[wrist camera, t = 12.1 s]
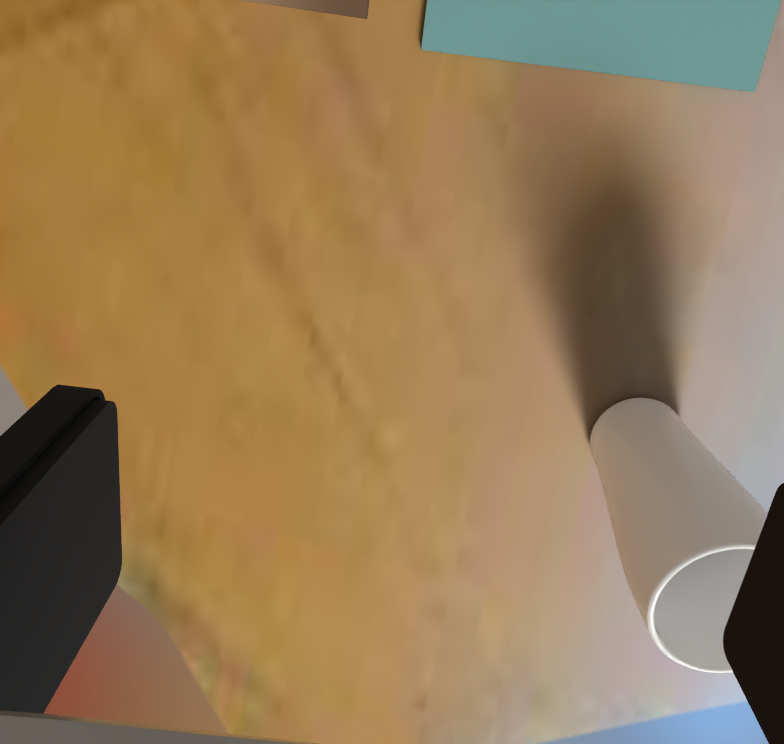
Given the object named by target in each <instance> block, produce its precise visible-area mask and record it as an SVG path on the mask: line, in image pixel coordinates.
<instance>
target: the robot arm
mask: <svg viewBox="0 0 784 744" xmlns="http://www.w3.org/2000/svg"><path fill="white" fill-rule="evenodd" d="M121 565H122V545H121V514H120V484H119V453H118V422H117V408H116V405H115V403H114V402H113V401H105V397H104V395H103V392H102V391H101V390H99V389H91V388H82V387H74V386H66V385H56V386H55V387H53V388H52V389H51V390H50V391H49V392H48V393H47V394H46V395H44V396H43V397H42V398H41V399H40V400H39V401H38V402H37V403H36V404H35V405H34V406H33V407H31V408H30V409H29V410H28V411H27V412H26V413H25V414H24V415H23V416H22V417H21V418H20V419H19V420H17V421H16V422H15V423H14V424H13V425H12V426H11V427H10V428H9V429H8V430H7V431H6V432H5V433H3V434H2V435H1V436H0V744H317V743H308V742H299V741H290V740H281V739H271V738H262V737H253V736H244V735H235V734H225V733H216V732H207V731H198V730H188V729H179V728H170V727H161V726H151V725H143V724H132V723H124V722H115V721H105V720H97V719H87V718H78V717H69V716H60V715H51V714H43V713H44V711H45V710H46V708H47V706H48V704H49V703H50V701H51V699H52V697H53V695H54V694H55V692H56V690H57V688H58V687H59V685H60V683H61V681H62V680H63V678H64V676H65V674H66V673H67V671H68V669H69V667H70V665H71V664H72V662H73V660H74V658H75V657H76V655H77V653H78V651H79V649H80V648H81V646H82V644H83V643H84V641H85V639H86V637H87V636H88V634H89V632H90V630H91V628H92V627H93V625H94V623H95V621H96V620H97V618H98V616H99V614H100V613H101V611H102V609H103V607H104V605H105V604H106V602H107V600H108V598H109V597H110V595H111V593H112V591H113V590H114V588H115V586H116V584H117V581H118V578H119V575H120V571H121ZM723 648H724V653H725V656H726V659H727V661H728V663H729V665H730V667H731V669H732V671H733V673H734V675H735V677H736V679H737V681H738V683H739V685H740V687H741V689H742V691H743V693H744V695H745V697H746V699H747V701H748V703H749V705H750V706H751V709H752V711H753V712H754V714H755V717H756V719H757V721H758V723H759V725H760V726H761V729H762V730H763V733H764V734H765V737H766V738H767V741H768V742H769V744H784V483H783V484H781V485H780V486H779V487H778V489H777V491H776V493H775V496H774V499H773V501H772V504H771V507H770V509H769V512H768V515H767V517H766V520H765V523H764V525H763V528H762V531H761V533H760V536H759V539H758V541H757V544H756V547H755V549H754V552H753V555H752V557H751V560H750V563H749V565H748V568H747V571H746V573H745V576H744V579H743V581H742V584H741V587H740V589H739V592H738V595H737V597H736V600H735V603H734V605H733V608H732V611H731V613H730V616H729V619H728V621H727V624H726V626H725V630H724V633H723Z"/></svg>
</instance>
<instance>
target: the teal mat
mask: <svg viewBox="0 0 784 744" xmlns="http://www.w3.org/2000/svg"><path fill="white" fill-rule="evenodd" d="M780 3H781V0H427V5H426V14H425V22H424V30H423V38H422V46H421V50H428V51H435V52H443V53H451V54H459V55H467V56H475V57H483V58H490V59H498V60H506V61H514V62H522V63H530V64H538V65H545V66H553V67H561V68H569V69H577V70H585V71H593V72H600V73H608V74H616V75H624V76H632V77H640V78H648V79H656V80H663V81H671V82H679V83H687V84H695V85H703V86H711V87H718V88H726V89H734V90H742V91H750V92H755V89H756V86H757V82H758V79H759V75H760V72H761V69H762V65H763V62H764V58H765V55H766V51H767V48H768V44H769V41H770V38H771V34H772V31H773V27H774V24H775V20H776V17H777V13H778V10H779V7H780Z"/></svg>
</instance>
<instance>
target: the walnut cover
mask: <svg viewBox="0 0 784 744" xmlns="http://www.w3.org/2000/svg"><path fill="white" fill-rule="evenodd" d="M241 1H248V2H255V3H262V4H268V5H275V6H282V7H289V8H296V9H302V10H309V11H316V12H323V13H330V14H337V15H343V16H350V17H357V18H364V19H367V15H368V6H369V0H241Z"/></svg>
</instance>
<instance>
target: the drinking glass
mask: <svg viewBox="0 0 784 744" xmlns="http://www.w3.org/2000/svg"><path fill="white" fill-rule="evenodd" d="M590 449H591V454H592V457H593V459H594V462H595V464H596V467H597V469H598V473H599V476H600V480H601V484H602V488H603V492H604V496H605V500H606V504H607V508H608V512H609V516H610V520H611V524H612V528H613V532H614V536H615V540H616V545H617V549H618V552H619V556H620V560H621V563H622V567H623V570H624V573H625V576H626V579H627V582H628V585H629V588H630V590H631V593H632V595H633V598H634V600H635V602H636V605H637V607H638V609H639V612H640V614H641V616H642V618H643V620H644V622H645V625H646V627H647V629H648V631H649V633H650V636H651V638H652V639H653V641H654V643H655V644H656V645H657V647H658V648H659V649H660V650H661V651H662V652H663V653H664V654H665V655H666V656H668V657H669V658H670V659H672V660H673V661H675V662H677V663H679V664H681V665H683V666H685V667H688V668H691V669H694V670H699V671H704V672H713V673H727V672H733V671H732V669H731V667H730V665H729V663H728V661H727V659H726V656H725V653H724V648H723V633H724V630H725V626H726V624H727V621H728V619H729V616H730V613H731V611H732V608H733V605H734V603H735V600H736V597H737V595H738V592H739V589H740V587H741V584H742V581H743V579H744V576H745V573H746V571H747V568H748V565H749V563H750V560H751V557H752V555H753V552H754V549H755V547H756V544H757V541H758V539H759V536H760V533H761V531H762V528H763V525H764V523H765V520H766V517H767V515H768V513H767V512H766V511H765V510H764V509H763V507H762V506H761V505H760V504H759V503H758V502H757V501H756V499H755V498H754V497H753V496H752V495H751V494H750V493H749V492H748V491H747V490H746V489H745V488H744V487H743V486H742V485H741V484H740V482H739V481H738V480H737V479H736V478H735V477H734V476H733V475H732V474H731V473H730V472H729V471H728V470H727V469H726V468H725V467H724V466H723V465H722V464H721V463H720V462H719V461H718V460H717V459H716V458H715V456H714V455H713V454H712V453H711V452H710V451H709V450H708V449H707V448H706V447H705V446H704V445H703V444H702V443H701V442H700V441H699V440H698V439H697V437H696V436H695V435H694V434H693V433H692V432H691V431H690V430H689V429H688V428H687V427H686V425H685V424H684V422H683V421H682V420H681V418H680V417H679V415H678V414H677V413H676V412H675V411H674V410H673V409H672V408H671V407H669V406H668V405H666V404H665V403H663V402H660V401H658V400H655V399H651V398H631V399H627V400H623V401H621V402H618V403H616V404H614V405H613V406H611V407H610V408H608V409H607V410H606V411H605V412H604V413H603V414H602V415H601V416H600V417H599V418H598V420H597V421H596V423H595V425H594V427H593V429H592V432H591V437H590Z"/></svg>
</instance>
